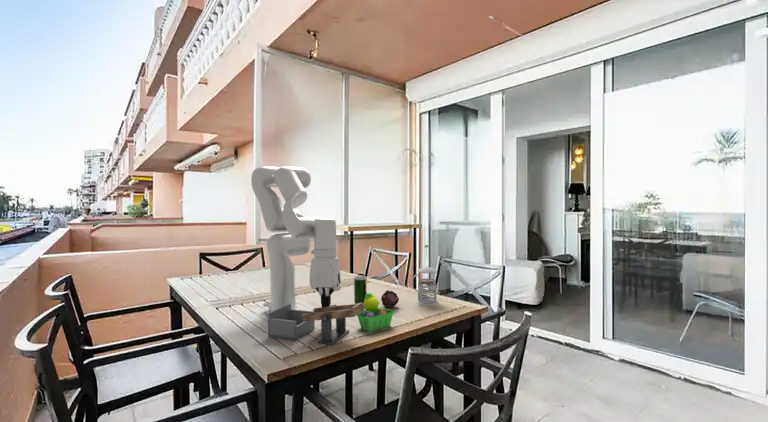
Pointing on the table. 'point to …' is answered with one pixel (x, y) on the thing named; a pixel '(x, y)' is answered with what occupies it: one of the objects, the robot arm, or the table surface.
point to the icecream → (389, 299)
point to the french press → (423, 298)
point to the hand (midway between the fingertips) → (325, 306)
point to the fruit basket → (374, 314)
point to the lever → (334, 312)
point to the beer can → (360, 289)
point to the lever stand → (326, 330)
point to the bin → (288, 323)
